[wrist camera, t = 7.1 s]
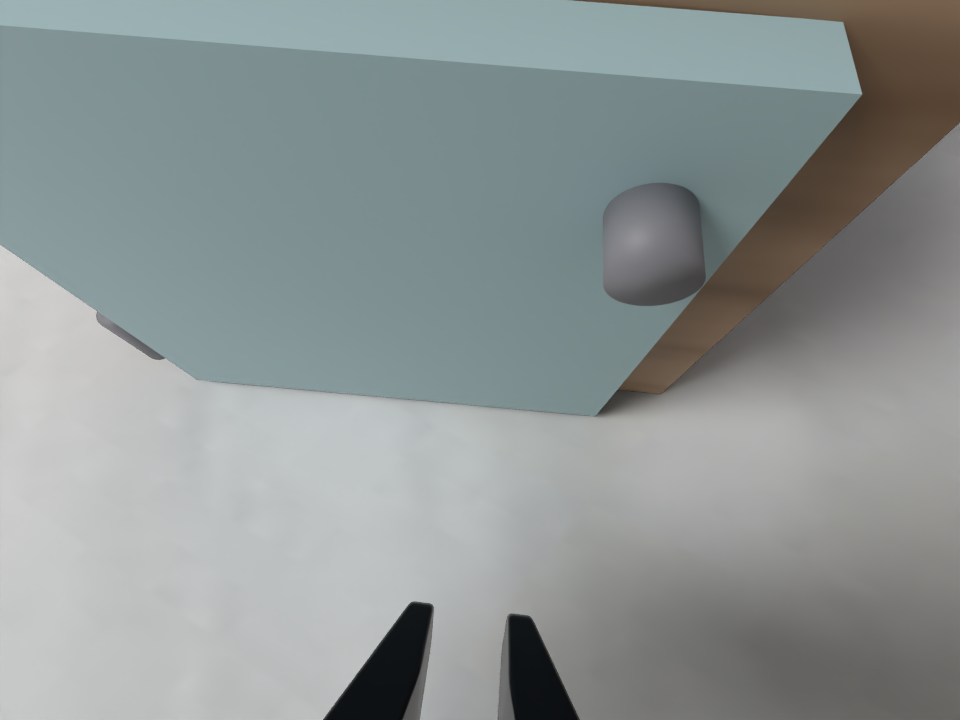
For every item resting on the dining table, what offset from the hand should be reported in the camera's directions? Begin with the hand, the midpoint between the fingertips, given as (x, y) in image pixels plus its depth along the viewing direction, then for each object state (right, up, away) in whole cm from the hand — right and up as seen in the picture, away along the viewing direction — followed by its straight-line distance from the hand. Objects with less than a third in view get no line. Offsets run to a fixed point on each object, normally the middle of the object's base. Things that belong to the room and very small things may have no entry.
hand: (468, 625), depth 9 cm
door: (-3, +3, +9) cm, 10 cm away
